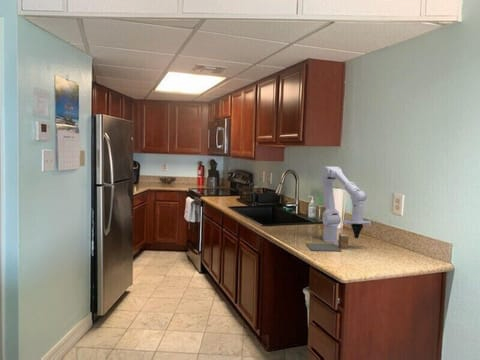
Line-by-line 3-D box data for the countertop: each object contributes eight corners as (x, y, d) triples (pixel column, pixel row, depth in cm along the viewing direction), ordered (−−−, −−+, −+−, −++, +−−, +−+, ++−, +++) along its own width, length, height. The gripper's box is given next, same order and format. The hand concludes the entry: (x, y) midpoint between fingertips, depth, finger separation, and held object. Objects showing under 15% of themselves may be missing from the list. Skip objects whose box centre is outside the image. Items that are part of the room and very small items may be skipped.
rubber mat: (305, 244, 212) (305, 243, 212) (334, 244, 213) (334, 243, 213) (311, 251, 198) (311, 249, 198) (341, 251, 199) (341, 250, 199)
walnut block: (338, 247, 208) (339, 233, 207) (345, 247, 208) (346, 233, 207) (340, 249, 204) (341, 234, 203) (347, 249, 204) (348, 234, 203)
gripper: (346, 214, 200) (345, 239, 201) (373, 214, 201) (372, 239, 202) (342, 211, 207) (341, 236, 208) (368, 212, 208) (367, 236, 209)
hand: (356, 237), depth 205 cm, fingers closed
